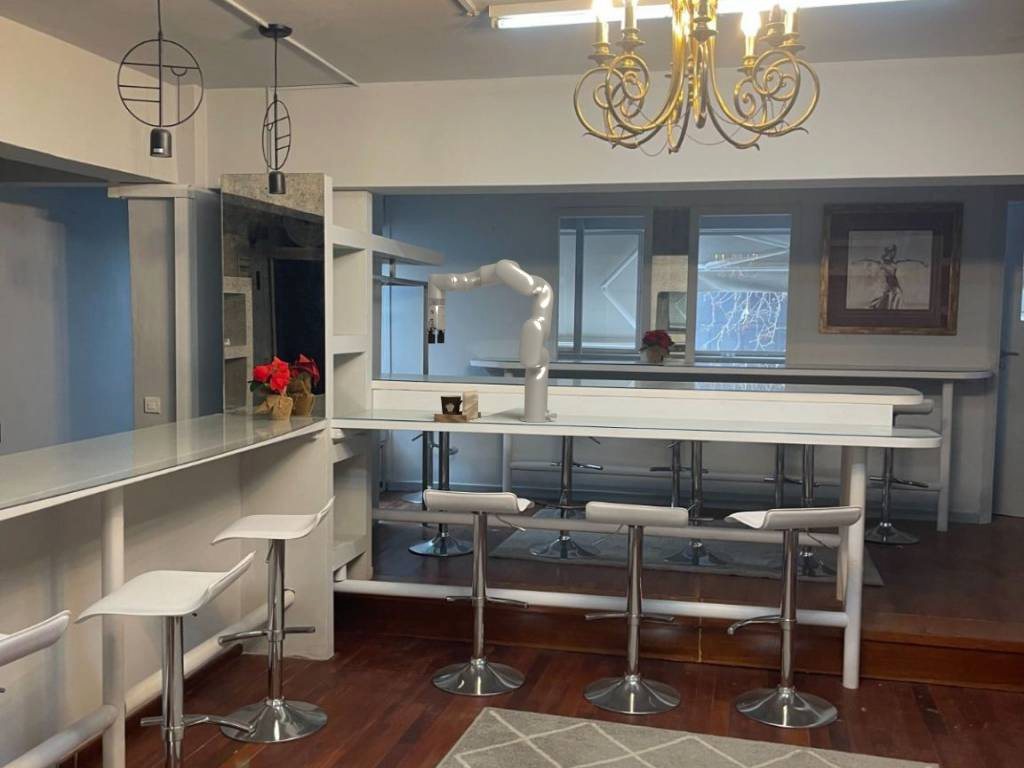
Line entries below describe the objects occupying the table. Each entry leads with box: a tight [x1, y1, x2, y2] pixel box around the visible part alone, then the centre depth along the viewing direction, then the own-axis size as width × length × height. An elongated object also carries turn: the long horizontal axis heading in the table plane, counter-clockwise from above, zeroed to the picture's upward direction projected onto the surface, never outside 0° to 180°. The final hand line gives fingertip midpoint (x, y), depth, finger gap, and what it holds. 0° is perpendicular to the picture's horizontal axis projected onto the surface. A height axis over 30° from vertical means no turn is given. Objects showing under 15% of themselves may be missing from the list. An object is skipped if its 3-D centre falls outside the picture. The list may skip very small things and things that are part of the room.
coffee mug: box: [440, 394, 463, 415], centre depth 397 cm, size 12×9×10 cm
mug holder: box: [433, 410, 482, 424], centre depth 397 cm, size 14×17×3 cm
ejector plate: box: [461, 389, 479, 423], centre depth 395 cm, size 2×14×12 cm, turn 161°
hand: (436, 343), depth 408 cm, fingers open, 9 cm apart
